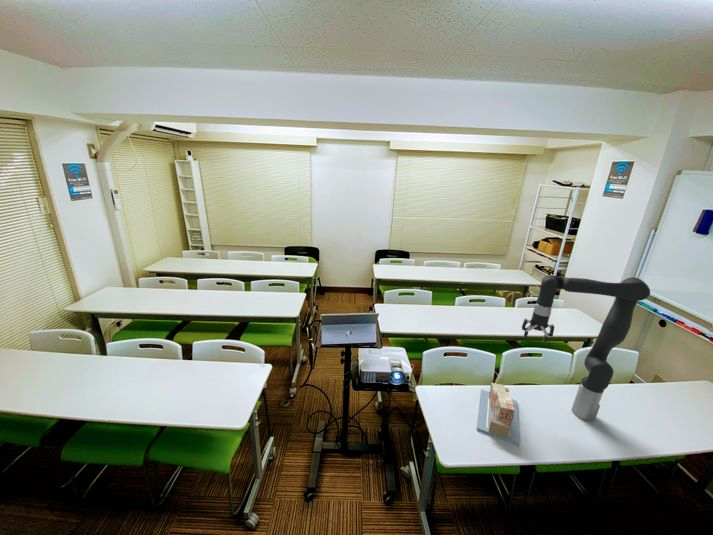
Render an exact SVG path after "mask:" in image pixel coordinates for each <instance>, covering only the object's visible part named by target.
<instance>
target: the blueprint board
mask: <svg viewBox="0 0 713 535" xmlns="http://www.w3.org/2000/svg"><path fill="white" fill-rule="evenodd" d="M504 388H505V391H506V392H509V391H510V389H509V388H507V387H505V386H504ZM489 393H490V391H488V390H484V389H480V396H479V397H480V398H479V403H478V404H479V405H478V413H477V414H478V415H477V423H476V430H477V431H479V432H480V433H484V434H487V435H490V436H492V437H494V438H497V439H500V440H503V441H505V442H508V443H511V444H513V445H516V446H519V447H520V444H521V443H520V430H519V427H520V426H519V415H518V414H519V413H518V411H519V410H518V401H517V399H513V398H511V399H512V402H513V406H514V408H515V413H514V416H513V420H512V423H511V427H510V425H508V424H505V423H503V422H500V421H497V420H494V416H493V412H492V408H491V404H490V400H489ZM509 393H510V392H509Z"/></svg>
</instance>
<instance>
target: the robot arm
mask: <svg viewBox="0 0 713 535" xmlns="http://www.w3.org/2000/svg"><path fill="white" fill-rule="evenodd" d="M558 290H564V291H565V292H568V293H576V294H589V295H590V294H592V295H600V296H607V297H613V298H615V299H614V302H613V304H612V307H610V310H609V312H608V313H607V315H606V317H605V319H604V321H603V323H602V325H601V327H600V331H599V333H598V335H597V337H596V339H595V342H594V343H593V346H592V347H591V349H590V350H589V352H588V353H587V355H586V357H585V359H584V361H583V363H584V367H585V368H586V370H587V371H588V376H584V377H582V378H581V381H580V383H579V386H578V389H577V392H576V394H575V396H574V397H575V398H574V401H573V404H572V407H571V412H572V413H573V414H574V416H576V417H577V418H579V419H582V420H584V421H588V422H592V421H593V422H595V421H596V418H597V416H598V414H599V410H600V407H601V404H600V403H601V402H600V401H601V399H602V397H603V393H604V391H605V390H606V389H607V388H608V386H609V385H610V383H611V381H612V378H613V375H614V369H613V366H611V364H609V362H608V361H607V359H608V357H609V355H610V352H611V350H612V349H613V348H615V347H617V346H619V345H621V344H622V343H623V342H624V341H625V340H626V337H627V335H628V334H629V332H630V329H631V326H632V321H633V316H634V309H635V308H636V305H637V304H638V302H640V301H643V300H645V299H647V298H649V296H650V294H651V289H650V287H649V285H648V284H647V283H646V282H645V281H643V280H642V279H640V278H639V277H634V276H633V277H627V278H625V279H623V280H622V281H621V282H607V281H599V280H595V279H589V278H578V277H565V276H559V275H553V274H551V275H550V274H548V275H545V276H544V277H543V278H542V279H541V283H540V288H539V293H538V295H537V299H536V303H535V305H534V307H533V308H534V309H533V310H532V311H533V312H532V316H531V318H530V320H529V319H527V318H524V320H523V322H522V326H521V330H522V331H524V333H523V335H524V338H525V339H528V338H527V337H528V335H529V332H530V331H532V330H535V331H539V332H543V334H544V335H543V339H542V342H543V343H546V342H547V341H548V339H549V338H548V337H551V338H552V337H553V336H554V331H555V326H554V324H553V323H552V324H549V321H550V317H551V315H552V308H553V304H554V300H555V296H556V293H557V291H558ZM528 324H529V325H528ZM527 325H528V326H527ZM526 326H527V327H526ZM547 328H549V332H548V331H547V330H546V329H547Z"/></svg>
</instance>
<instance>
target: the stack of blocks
mask: <svg viewBox="0 0 713 535" xmlns="http://www.w3.org/2000/svg"><path fill="white" fill-rule="evenodd" d="M504 387H505V386H504V384H500V383H495V382H491V383H490V389H489V392H490V393H489V400H490V404H491V408H492V412H493V416H494V420H497V421H500V422H503V423H505V424H508V425H510V427H511V423H512V420H513V416H514V413H515V408H514V406H513V402H512V399H513V398H512V396H511V395H510V392H506V391H505V388H506V387H505V388H504Z"/></svg>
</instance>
